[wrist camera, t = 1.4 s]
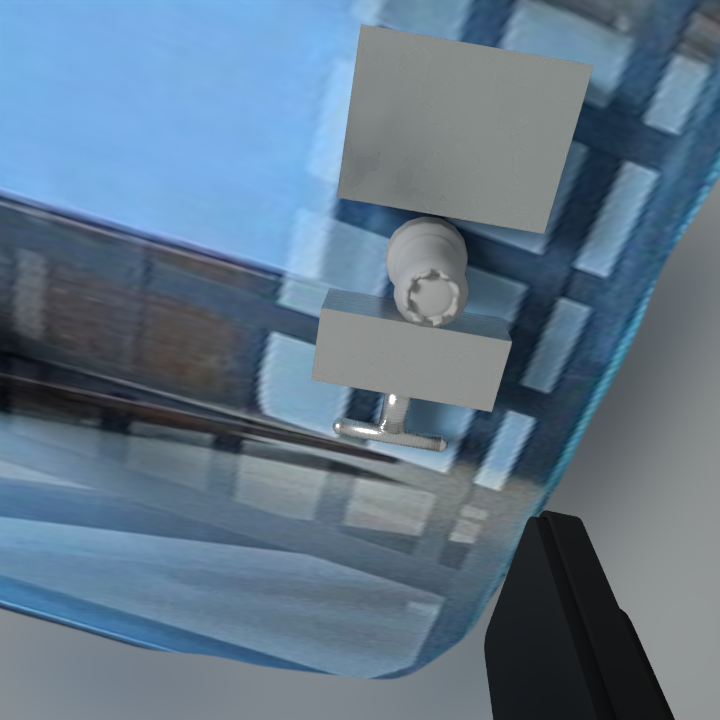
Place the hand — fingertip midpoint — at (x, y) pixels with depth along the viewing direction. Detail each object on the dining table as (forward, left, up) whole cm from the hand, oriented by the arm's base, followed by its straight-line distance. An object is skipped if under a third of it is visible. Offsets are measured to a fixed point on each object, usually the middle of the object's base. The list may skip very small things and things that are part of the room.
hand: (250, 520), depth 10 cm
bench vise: (0, +4, -23) cm, 24 cm away
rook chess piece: (0, +4, -24) cm, 24 cm away
